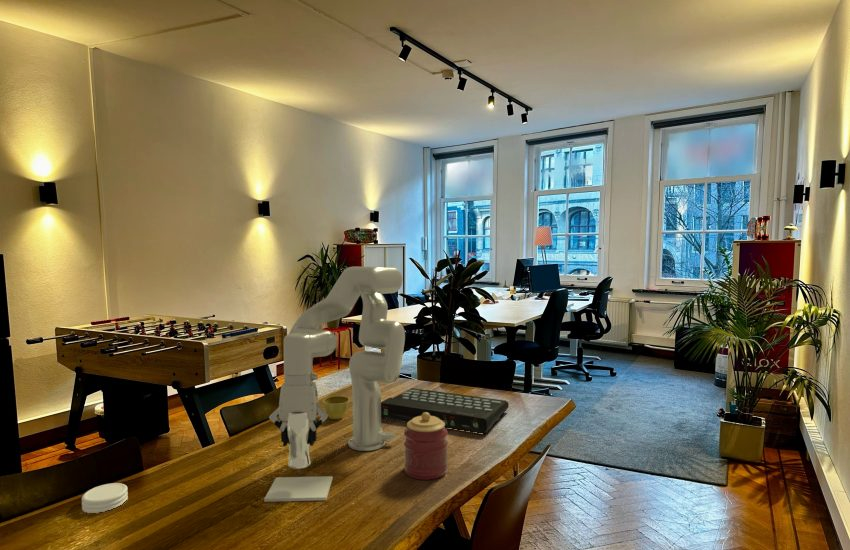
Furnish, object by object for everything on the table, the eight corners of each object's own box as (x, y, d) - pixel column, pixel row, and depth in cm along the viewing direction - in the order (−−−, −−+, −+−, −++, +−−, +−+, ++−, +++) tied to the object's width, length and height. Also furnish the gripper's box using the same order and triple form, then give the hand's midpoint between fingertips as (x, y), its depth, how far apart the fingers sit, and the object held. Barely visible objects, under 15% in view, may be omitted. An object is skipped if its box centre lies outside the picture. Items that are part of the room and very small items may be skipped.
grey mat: (332, 478, 140) (332, 476, 140) (326, 500, 128) (326, 497, 128) (276, 480, 140) (276, 477, 140) (264, 501, 128) (264, 498, 128)
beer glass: (305, 470, 130) (305, 414, 129) (281, 468, 131) (281, 413, 130) (316, 459, 136) (316, 406, 136) (293, 457, 138) (293, 405, 137)
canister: (452, 479, 140) (452, 418, 139) (407, 482, 138) (406, 421, 137) (442, 460, 153) (442, 404, 152) (401, 463, 151) (401, 406, 150)
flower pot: (353, 418, 191) (353, 400, 190) (329, 424, 185) (329, 405, 185) (342, 411, 199) (342, 394, 199) (319, 416, 193) (319, 398, 193)
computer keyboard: (508, 413, 198) (508, 397, 198) (486, 437, 173) (487, 418, 173) (409, 399, 217) (409, 384, 217) (377, 418, 192) (377, 402, 192)
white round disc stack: (77, 518, 120) (76, 504, 120) (87, 499, 130) (86, 486, 129) (124, 509, 124) (124, 496, 124) (130, 492, 134) (130, 479, 133)
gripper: (332, 375, 137) (333, 438, 137) (269, 375, 136) (270, 439, 137) (328, 382, 129) (328, 449, 130) (262, 383, 128) (262, 450, 129)
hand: (299, 443), depth 133 cm, fingers closed on beer glass, 6 cm apart
